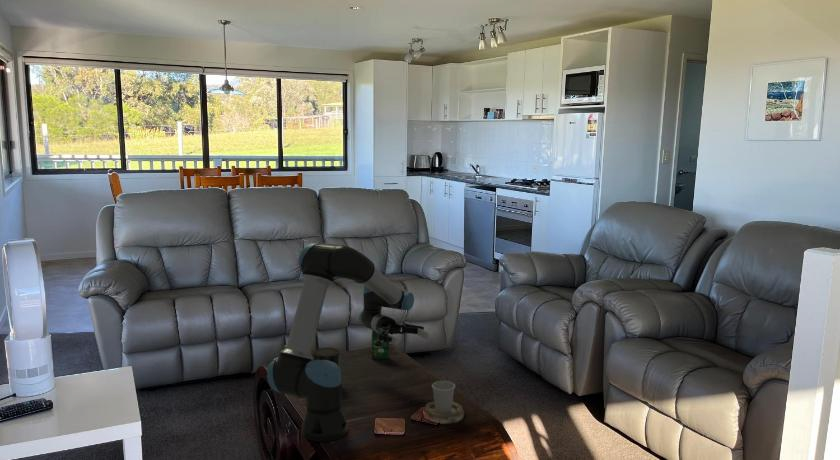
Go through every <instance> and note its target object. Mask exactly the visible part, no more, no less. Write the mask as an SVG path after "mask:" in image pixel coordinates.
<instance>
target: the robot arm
mask: <svg viewBox="0 0 840 460" xmlns="http://www.w3.org/2000/svg"><path fill="white" fill-rule="evenodd" d="M298 268H299V270H300V272H301V278H302V280H303V284H302V288H301V292H300V296H299V300H298V303H297V306H296V310H295V314H294V317H293V321H292V325H291V329H290V333H289V335H288V339H287V344H286V345H287V346H286V348H285V349H284V348H283V349H282V350H280V352H279V356H277V357H275V358H274V359H272V361H271V362H270V363H269V365H268V368H267V376H266V377H267V382H268V384H269V387H270V388H271V390H273V391H275V392H277V393H279V394H281V395H285V396H291V397H295V398H300V399H303V400H305V402H306V412H305V415H304V417H303V420H302V424H301V436H302V438H305V439H306V440H309V441H311V442H318V443H319V442H320V443H321V442H322V443H323V442H331V441H335V440H338V439H340V438H342V437H343V436H345V435H346V434H347V432H348V422H347V419H346V417H345V414H344V412H343V411H344V410H343V409H342V382H343V379H342V372H341V366H340V367H339V366H338V365H337V364H336V363H334V362H331V361H328V360H314V356H312V354H311V352H312V347H313V344H314V342H315V341H314V340H315V337H316V333H317V330H318V325H319V322H320V318H321V313H322V310H323V307H324V306H323V305H324V302H325V298H326V295H327V290H328V288H329V287H330V286H332V285H333V284H334V282H335V278H337V279H348V280H351V281H353V282H355V283H357V284H359V285H360V284H362V285H363V294H362V295H363V309H362V310H361V311H360V313H359V317H358V320H359V322H360V324H361V325H363V326H364V327H366V328H367V329H370V330H372V331H373V330H374V331H376V334H377V335H378V339H379V341H382V340H384V343H386V342H387V341H389V343H391V344H393V345H395V346H399V337H397V336H395V335H404V334H409V335H410V334H411V335H417V336H418V337H421V338H423V339H425V340H429V339H430V338H429V337H430V335H429V331H426V330H425V328H424V326H423V325H422V326H421V325H415V324H410V323H406V322H403V323H402V324H398V323H397V322H396V320H395V319H394V318H392V317H390V316H387V315H386V314H382V309H383V308H388V309H394V310H400V311H411V310H412V308H413V307H414V304H415V296H414V294H413V292H411V291H406V290H405V291H404V290H402V289H401V288H400V287H398V286H397V285H396V284H395V283H394V282H392V281H391V280H390V279H389V278H388V277H387V276H386V275H384V274H383V273H382V272H381V271H379V269H377V268H376V266H375V263H374V262H373V261H372V260H371V259H370V258H369V257H368V256H366V255H365V254H364V253H362V252H360V251H358V250H357V249H356V248H353V247H350V246H348V245H345V244H334V243H326V242H310V243H309V244H307V245H306V246H304V247H303V248H302V250H301V252H300V254H299V257H298Z"/></svg>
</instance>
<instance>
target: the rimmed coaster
mask: <svg viewBox="0 0 840 460" xmlns="http://www.w3.org/2000/svg"><path fill="white" fill-rule="evenodd" d="M424 408H425V409H424ZM424 408H423V409H424V412H426V413H427V414H428V415H429V416H430V417H432V418H433V419H439V420H438V421H439V422H440V424H439V425H449V424H451V425H452V424H455V423H459V422H460V421H462V420H464V417H465V410H464V408H463V406H462V405H461V404H459V403H458V402H455V401H454V400H453V402H452V409H451V413H450V414H437V413H434V412H432V411H431V410H429V409H430V408H431V409H435V405H434V400H433V401H430V402H427V403H426V405H425V406H424Z"/></svg>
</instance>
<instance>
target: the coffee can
mask: <svg viewBox="0 0 840 460" xmlns="http://www.w3.org/2000/svg"><path fill="white" fill-rule="evenodd" d="M340 354H341V353H340V350H339V348H335V347H321V348H317V349H314V351H313V360H328V361H331V362H334V363H336V364H337V365H338V366H339V367H340V368H341V366H340V362H341V361H340Z"/></svg>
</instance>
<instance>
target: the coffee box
mask: <svg viewBox="0 0 840 460" xmlns="http://www.w3.org/2000/svg"><path fill="white" fill-rule="evenodd" d="M371 334H372V335H371V359H374V360H375V359H376V360H377V359H379V360H381V359H382V360H383V359H384V360H389V359H390V342H389V341H387V342H386V343H384V340H382V341H379V339H378V335H377V334H376V331H374V330H372V331H371Z"/></svg>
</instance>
